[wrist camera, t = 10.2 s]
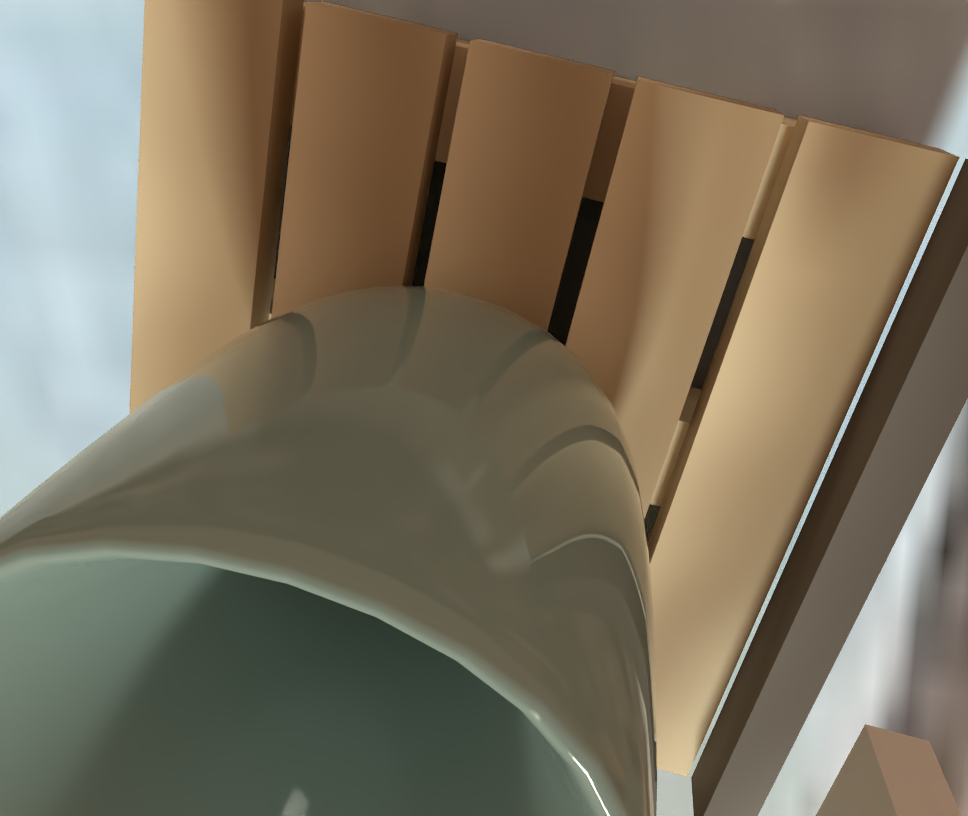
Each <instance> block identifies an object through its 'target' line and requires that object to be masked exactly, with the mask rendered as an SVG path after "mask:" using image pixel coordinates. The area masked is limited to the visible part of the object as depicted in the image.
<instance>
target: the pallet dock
mask: <svg viewBox="0 0 968 816" xmlns="http://www.w3.org/2000/svg"><path fill="white" fill-rule="evenodd" d="M457 36H458V33H454V32H449V31H445V30H441V29H437V28H433V27H429V26H424V25H420V24H416V23H412V22H408V21H403V20H399V19H395V18H391V17H387V16H383V15H378V14H374V13H370V12H366V11H362V10H357V9H353V8H349V7H345V6H341V5H337V4H332V3H328V2H316V1H306V2H304V0H145V11H144V38H143V65H142V92H141V119H140V146H139V173H138V200H137V227H136V254H135V281H134V308H133V335H132V362H131V389H130V414H131V413H132V412H133V411H135V410H136V409H137V408H138V407H140V406H141V405H142V404H144V403H145V402H146V401H148V400H149V399H150V398H152V397H153V396H154V395H155V394H157V393H158V392H159V391H161V390H162V389H163V388H165V387H166V386H167V385H169V384H170V383H171V382H173V381H174V380H175V379H177V378H178V377H179V376H181V375H182V374H184V373H185V372H186V371H188V370H189V369H191V368H192V367H193V366H195V365H196V364H198V363H199V362H200V361H202V360H203V359H205V358H206V357H208V356H209V355H210V354H212V353H213V352H215V351H216V350H218V349H220V348H221V347H223V346H224V345H226V344H227V343H229V342H230V341H232V340H233V339H235V338H237V337H238V336H240V335H241V334H243V333H245V332H247V331H249V330H251V329H252V328H254V327H256V326H258V325H260V324H261V323H263V322H265V321H267V320H270V319H272V318H274V317H277V316H279V315H281V314H284V313H286V312H288V311H291V310H293V309H296V308H298V307H300V306H303V305H305V304H307V303H310V302H312V301H314V300H317V299H319V298H322V297H324V296H327V295H331V294H336V293H340V292H345V291H351V290H357V289H363V288H369V287H375V286H381V285H394V286H412V283H413V277H414V272H415V266H416V261H417V255H418V250H419V244H420V239H421V233H422V228H423V222H424V217H425V212H426V206H427V201H428V195H429V190H430V184H431V179H432V173H433V168H434V162H435V161H439V162H443V163H447V165H446V171H445V176H444V181H443V187H442V192H441V197H440V202H439V208H438V213H437V218H436V224H435V229H434V234H433V240H432V245H431V250H430V255H429V261H428V266H427V271H426V277H425V282H424V286H426V287H432V288H437V289H442V290H447V291H452V292H457V293H462V294H467V295H472V296H475V297H477V298H480V299H483V300H485V301H488V302H491V303H494V304H496V305H499V306H502V307H504V308H507V309H510V310H512V311H513V312H515V313H517V314H519V315H520V316H522V317H524V318H525V319H527V320H529V321H531V322H532V323H534V324H536V325H538V326H539V327H541V328H543V329H545V330H546V331H548V327H549V324H550V320H551V316H552V312H553V308H554V304H555V301H556V297H557V293H558V289H559V285H560V281H561V277H562V274H563V270H564V266H565V262H566V258H567V254H568V250H569V247H570V243H571V239H572V235H573V231H574V227H575V223H576V220H577V216H578V212H579V208H580V204H581V200H582V197H584V198H588V199H592V200H596V201H601V202H604V203H603V207H602V210H601V214H600V218H599V221H598V225H597V229H596V232H595V236H594V240H593V244H592V247H591V251H590V255H589V258H588V262H587V266H586V269H585V273H584V277H583V280H582V284H581V288H580V292H579V295H578V299H577V303H576V306H575V310H574V314H573V317H572V321H571V325H570V328H569V332H568V336H567V340H566V343H565V347H566V348H568V349H569V350H570V351H571V352H572V353H573V354H575V355H576V356H577V357H578V358H579V359H580V360H581V361H582V362H583V363H584V365H585V366H586V367H587V369H588V370H589V371H590V372H591V374H592V375H593V376H594V378H595V379H596V380H597V382H598V383H599V384H600V386H601V387H602V388H603V390H604V391H605V392H606V394H607V396H608V398H609V400H610V402H611V404H612V406H613V408H614V410H615V413H616V415H617V418H618V420H619V422H620V425H621V427H622V429H623V432H624V434H625V436H626V439H627V441H628V444H629V447H630V450H631V454H632V457H633V460H634V464H635V469H636V474H637V480H638V485H639V491H640V497H641V504H642V510H643V516H644V519H645V516H646V513H647V510H648V508H649V505H650V504H652V505H656V506H659V507H660V509H659V512H658V515H657V518H656V521H655V523H654V526H653V529H652V532H651V535H650V538H649V540H648V553H649V562H650V572H651V588H652V603H653V627H654V655H655V695H656V746H657V768H658V769H662V770H665V771H669V772H672V773H676V774H679V775H683V776H686V777H687V776H688V774H689V771H690V769H691V767H692V765H693V762H694V760H695V758H696V755H697V753H698V751H699V749H700V746H701V744H702V742H703V739H704V737H705V735H706V733H707V730H708V728H709V726H710V724H711V721H712V719H713V717H714V714H715V712H716V710H717V708H718V705H719V703H720V701H721V698H722V696H723V694H724V692H725V689H726V687H727V685H728V683H729V680H730V678H731V676H732V673H733V671H734V669H735V667H736V664H737V662H738V660H739V658H740V655H741V653H742V651H743V648H744V646H745V644H746V642H747V639H748V637H749V635H750V632H751V630H752V628H753V626H754V623H755V621H756V619H757V617H758V614H759V612H760V610H761V607H762V605H763V603H764V601H765V598H766V596H767V594H768V591H769V589H770V587H771V585H772V582H773V580H774V578H775V576H776V573H777V571H778V569H779V566H780V564H781V562H782V560H783V557H784V555H785V553H786V550H787V548H788V546H789V544H790V541H791V539H792V537H793V535H794V532H795V530H796V528H797V525H798V523H799V521H800V519H801V516H802V514H803V512H804V510H805V507H806V505H807V503H808V500H809V498H810V496H811V494H812V491H813V489H814V487H815V484H816V482H817V480H818V478H819V475H820V473H821V471H822V469H823V466H824V464H825V462H826V459H827V457H828V455H829V453H830V450H831V448H832V446H833V443H834V441H835V439H836V437H837V434H838V432H839V430H840V428H841V425H842V423H843V421H844V418H845V416H846V414H847V412H848V409H849V407H850V405H851V402H852V400H853V398H854V396H855V393H856V391H857V389H858V387H859V384H860V382H861V380H862V377H863V375H864V373H865V371H866V368H867V366H868V364H869V362H870V359H871V357H872V355H873V352H874V350H875V348H876V346H877V343H878V341H879V339H880V336H881V334H882V332H883V330H884V327H885V325H886V323H887V321H888V318H889V316H890V314H891V311H892V309H893V307H894V305H895V302H896V300H897V298H898V295H899V293H900V291H901V289H902V286H903V284H904V282H905V280H906V277H907V275H908V273H909V270H910V268H911V266H912V264H913V261H914V259H915V257H916V254H917V252H918V250H919V248H920V245H921V243H922V241H923V239H924V236H925V234H926V232H927V229H928V227H929V225H930V223H931V220H932V218H933V216H934V214H935V211H936V209H937V207H938V204H939V202H940V200H941V198H942V195H943V193H944V191H945V188H946V186H947V184H948V182H949V179H950V177H951V175H952V173H953V170H954V168H955V166H956V163H957V161H958V159H959V157H957V156H955V155H953V154H950V153H948V152H946V151H944V150H941V149H939V148H934V147H930V146H926V145H922V144H918V143H914V142H909V141H905V140H901V139H897V138H893V137H888V136H884V135H880V134H876V133H872V132H868V131H863V130H859V129H855V128H851V127H847V126H842V125H838V124H834V123H830V122H826V121H822V120H817V119H813V118H809V117H805V116H801V115H799V116H798V119H797V120H796V119H792V118H787V117H784V115H783V114H781V113H780V112H778V111H777V110H776V109H771V108H767V107H763V106H759V105H755V104H750V103H746V102H742V101H738V100H734V99H730V98H725V97H721V96H717V95H713V94H709V93H704V92H700V91H696V90H692V89H688V88H684V87H679V86H675V85H671V84H667V83H663V82H658V81H654V80H650V79H646V78H642V77H637V81H633V80H629V79H625V78H620V77H616V76H614V73H615V71H612V70H608V69H604V68H600V67H596V66H592V65H587V64H583V63H579V62H575V61H571V60H566V59H562V58H558V57H554V56H550V55H546V54H541V53H537V52H533V51H529V50H525V49H521V48H516V47H512V46H508V45H504V44H500V43H495V42H491V41H487V40H483V39H475V40H470V41H466V40H462V39H458V38H457ZM290 125H293V126H292V135H291V144H290V153H289V162H288V171H287V181H286V190H285V199H284V208H283V217H282V226H281V235H280V244H279V253H278V262H277V271H276V279H274V268H275V259H276V250H277V241H278V232H279V223H280V214H281V204H282V195H283V186H284V177H285V168H286V159H287V150H288V140H289V131H290ZM742 237H745V238H750V239H754V243H753V246H752V249H751V252H750V254H749V257H748V260H747V263H746V266H745V269H744V271H743V274H742V277H741V280H740V283H739V286H738V288H737V291H736V294H735V297H734V300H733V303H732V305H731V308H730V311H729V314H728V317H727V320H726V322H725V325H724V328H723V331H722V334H721V337H720V339H719V342H718V345H717V348H716V351H715V354H714V356H713V359H712V362H711V365H710V368H709V371H708V373H707V376H706V379H705V382H704V385H703V388H702V389H698V388H694V387H690V386H691V383H692V380H693V378H694V375H695V372H696V369H697V366H698V363H699V360H700V357H701V354H702V352H703V349H704V346H705V343H706V340H707V337H708V334H709V331H710V329H711V326H712V323H713V320H714V317H715V314H716V311H717V308H718V305H719V303H720V300H721V297H722V294H723V291H724V288H725V285H726V282H727V279H728V277H729V274H730V271H731V268H732V265H733V262H734V259H735V256H736V253H737V251H738V248H739V245H740V242H741V239H742ZM967 398H968V159H965V161H964V163H963V166H962V168H961V170H960V172H959V175H958V177H957V179H956V181H955V184H954V186H953V188H952V190H951V193H950V195H949V197H948V199H947V202H946V204H945V206H944V209H943V211H942V213H941V215H940V218H939V220H938V222H937V224H936V227H935V229H934V231H933V233H932V236H931V238H930V240H929V242H928V245H927V247H926V249H925V251H924V254H923V256H922V258H921V260H920V263H919V265H918V267H917V270H916V272H915V274H914V276H913V279H912V281H911V283H910V285H909V288H908V290H907V292H906V294H905V297H904V299H903V301H902V303H901V306H900V308H899V310H898V312H897V315H896V317H895V319H894V321H893V324H892V326H891V328H890V331H889V333H888V335H887V337H886V340H885V342H884V344H883V346H882V349H881V351H880V353H879V355H878V358H877V360H876V362H875V364H874V367H873V369H872V371H871V373H870V376H869V378H868V380H867V382H866V385H865V387H864V389H863V392H862V394H861V396H860V398H859V401H858V403H857V405H856V407H855V410H854V412H853V414H852V416H851V419H850V421H849V423H848V425H847V428H846V430H845V432H844V434H843V437H842V439H841V441H840V443H839V446H838V448H837V450H836V453H835V455H834V457H833V459H832V462H831V464H830V466H829V468H828V471H827V473H826V475H825V477H824V480H823V482H822V484H821V486H820V489H819V491H818V493H817V495H816V498H815V500H814V502H813V504H812V507H811V509H810V511H809V514H808V516H807V518H806V520H805V523H804V525H803V527H802V529H801V532H800V534H799V536H798V538H797V541H796V543H795V545H794V547H793V550H792V552H791V554H790V556H789V559H788V561H787V563H786V565H785V568H784V570H783V572H782V575H781V577H780V579H779V581H778V584H777V586H776V588H775V590H774V593H773V595H772V597H771V599H770V602H769V604H768V606H767V608H766V611H765V613H764V615H763V617H762V620H761V622H760V624H759V626H758V629H757V631H756V633H755V636H754V638H753V640H752V642H751V645H750V647H749V649H748V651H747V654H746V656H745V658H744V660H743V663H742V665H741V667H740V669H739V672H738V674H737V676H736V678H735V681H734V683H733V685H732V687H731V690H730V692H729V694H728V697H727V699H726V701H725V703H724V706H723V708H722V710H721V712H720V715H719V717H718V719H717V721H716V724H715V726H714V728H713V730H712V733H711V735H710V737H709V739H708V742H707V744H706V746H705V748H704V751H703V753H702V755H701V758H700V760H699V762H698V764H697V767H696V769H695V771H694V773H693V776H692V778H691V779H692V794H693V808H694V816H758V814H759V812H760V810H761V808H762V806H763V804H764V802H765V800H766V798H767V796H768V794H769V792H770V790H771V788H772V786H773V784H774V782H775V780H776V778H777V776H778V774H779V772H780V770H781V768H782V766H783V764H784V762H785V760H786V758H787V756H788V754H789V752H790V750H791V748H792V746H793V744H794V742H795V740H796V738H797V736H798V734H799V732H800V730H801V728H802V726H803V724H804V722H805V720H806V718H807V716H808V714H809V712H810V710H811V708H812V707H813V705H814V703H815V701H816V699H817V697H818V695H819V693H820V691H821V689H822V687H823V685H824V683H825V681H826V679H827V677H828V675H829V673H830V671H831V669H832V667H833V665H834V663H835V661H836V659H837V657H838V655H839V653H840V651H841V649H842V647H843V645H844V643H845V641H846V639H847V637H848V635H849V633H850V631H851V629H852V627H853V625H854V623H855V621H856V619H857V617H858V615H859V613H860V611H861V609H862V607H863V605H864V603H865V601H866V599H867V597H868V595H869V593H870V591H871V589H872V587H873V585H874V583H875V581H876V579H877V577H878V575H879V573H880V571H881V569H882V567H883V565H884V563H885V561H886V559H887V557H888V555H889V553H890V551H891V549H892V547H893V545H894V543H895V541H896V539H897V537H898V535H899V533H900V531H901V529H902V527H903V525H904V523H905V521H906V519H907V517H908V516H909V514H910V512H911V510H912V508H913V506H914V504H915V502H916V500H917V498H918V496H919V494H920V492H921V490H922V488H923V486H924V484H925V482H926V480H927V478H928V476H929V474H930V472H931V470H932V468H933V466H934V464H935V462H936V460H937V458H938V456H939V454H940V452H941V450H942V448H943V446H944V444H945V442H946V440H947V438H948V436H949V434H950V432H951V430H952V428H953V426H954V424H955V422H956V420H957V418H958V416H959V414H960V412H961V410H962V408H963V406H964V404H965V402H966V400H967Z"/></svg>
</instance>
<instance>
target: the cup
mask: <svg viewBox="0 0 968 816" xmlns="http://www.w3.org/2000/svg"><path fill="white" fill-rule="evenodd" d="M656 801H657V746H656V695H655V655H654V627H653V603H652V588H651V572H650V562H649V553H648V543H647V535H646V528H645V522H644V516H643V510H642V504H641V497H640V491H639V485H638V480H637V474H636V469H635V464H634V460H633V457H632V454H631V450H630V447H629V444H628V441H627V439H626V436H625V434H624V432H623V429H622V427H621V425H620V422H619V420H618V418H617V415H616V413H615V410H614V408H613V406H612V404H611V402H610V400H609V398H608V396H607V394H606V392H605V391H604V390H603V388H602V387H601V386H600V384H599V383H598V382H597V380H596V379H595V378H594V376H593V375H592V374H591V372H590V371H589V370H588V369H587V367H586V366H585V365H584V363H583V362H582V361H581V360H580V359H579V358H578V357H577V356H576V355H575V354H573V353H572V352H571V351H570V350H569V349H568V348H566V347H565V346H564V345H563V344H562V343H560V342H559V341H558V340H557V339H556V338H555V337H553V336H552V335H551V334H550V333H549V332H547V331H546V330H545V329H543V328H541V327H539V326H538V325H536V324H534V323H532V322H531V321H529V320H527V319H525V318H524V317H522V316H520V315H519V314H517V313H515V312H513V311H512V310H510V309H507V308H504V307H502V306H499V305H496V304H494V303H491V302H488V301H485V300H483V299H480V298H477V297H475V296H472V295H467V294H462V293H457V292H452V291H447V290H442V289H437V288H432V287H426V286H394V285H381V286H375V287H369V288H363V289H357V290H351V291H345V292H340V293H336V294H331V295H327V296H324V297H322V298H319V299H317V300H314V301H312V302H310V303H307V304H305V305H303V306H300V307H298V308H296V309H293V310H291V311H288V312H286V313H284V314H281V315H279V316H277V317H274V318H272V319H270V320H267V321H265V322H263V323H261V324H260V325H258V326H256V327H254V328H252V329H251V330H249V331H247V332H245V333H243V334H241V335H240V336H238V337H237V338H235V339H233V340H232V341H230V342H229V343H227V344H226V345H224V346H223V347H221V348H220V349H218V350H216V351H215V352H213V353H212V354H210V355H209V356H208V357H206V358H205V359H203V360H202V361H200V362H199V363H198V364H196V365H195V366H193V367H192V368H191V369H189V370H188V371H186V372H185V373H184V374H182V375H181V376H179V377H178V378H177V379H175V380H174V381H173V382H171V383H170V384H169V385H167V386H166V387H165V388H163V389H162V390H161V391H159V392H158V393H157V394H155V395H154V396H153V397H152V398H150V399H149V400H148V401H146V402H145V403H144V404H142V405H141V406H140V407H138V408H137V409H136V410H135V411H133V412H132V413H131V414H129V415H128V416H127V417H126V418H124V419H123V420H122V421H120V422H119V423H118V424H116V425H115V426H114V427H113V428H111V429H110V430H109V431H107V432H106V433H105V434H104V435H102V436H101V437H100V438H98V439H97V440H96V441H95V442H93V443H92V444H91V445H90V446H88V447H87V448H86V449H84V450H83V451H82V452H81V453H79V454H78V455H77V456H75V457H74V458H73V459H72V460H70V461H69V462H68V463H67V464H65V465H64V466H63V467H62V468H60V469H59V470H58V471H57V472H55V473H54V474H53V475H52V476H50V477H49V478H48V479H47V480H45V481H44V482H43V483H42V484H40V485H39V486H38V487H37V488H35V489H34V490H33V491H32V492H31V493H29V494H28V495H27V496H26V497H24V498H23V499H22V500H21V501H20V502H18V503H17V504H16V505H15V506H13V507H12V508H11V509H10V510H9V511H7V512H6V513H5V514H4V515H2V516H1V517H0V816H656Z"/></svg>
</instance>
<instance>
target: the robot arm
mask: <svg viewBox="0 0 968 816" xmlns="http://www.w3.org/2000/svg"><path fill="white" fill-rule="evenodd" d="M816 816H961V814H960V812H959V810H958V807H957V805H956V803H955V800H954V798H953V796H952V793H951V791H950V789H949V786H948V784H947V782H946V779H945V777H944V775H943V772H942V770H941V768H940V765H939V763H938V761H937V758H936V756H935V754H934V751H933V749H932V747H931V744H930V742H929V741H926V740H923V739H919V738H915V737H911V736H907V735H904V734H900V733H896V732H892V731H889V730H885V729H881V728H877V727H874V726H870V725H866V724H865V726H864V728H863V729H862V731H861V733H860V735H859V737H858V739H857V741H856V742H855V744H854V746H853V748H852V750H851V752H850V754H849V755H848V757H847V759H846V761H845V763H844V765H843V766H842V768H841V770H840V772H839V774H838V776H837V778H836V779H835V781H834V783H833V785H832V787H831V789H830V791H829V792H828V794H827V796H826V798H825V800H824V802H823V804H822V805H821V807H820V809H819V811H818V813H817V815H816Z"/></svg>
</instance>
